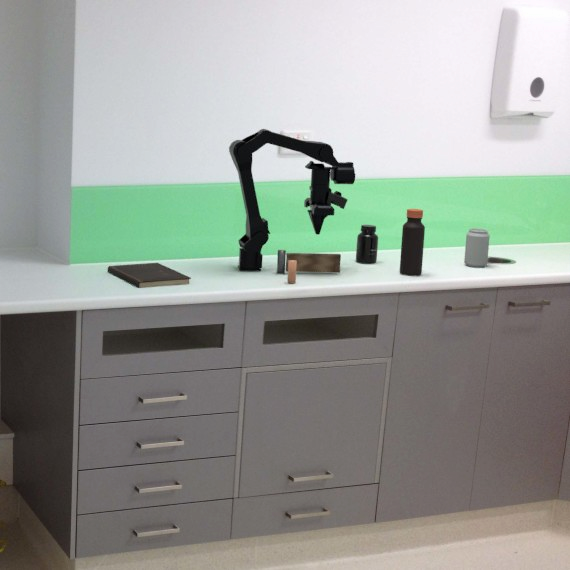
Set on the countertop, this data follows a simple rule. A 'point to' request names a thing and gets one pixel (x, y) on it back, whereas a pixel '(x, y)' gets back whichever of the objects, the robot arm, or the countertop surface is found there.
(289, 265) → the catch post
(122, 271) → the hardcover book
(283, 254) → the hinge post
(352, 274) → the countertop surface
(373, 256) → the supplement bottle
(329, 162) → the robot arm
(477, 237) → the can
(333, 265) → the brown long plank slab
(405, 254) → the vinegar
